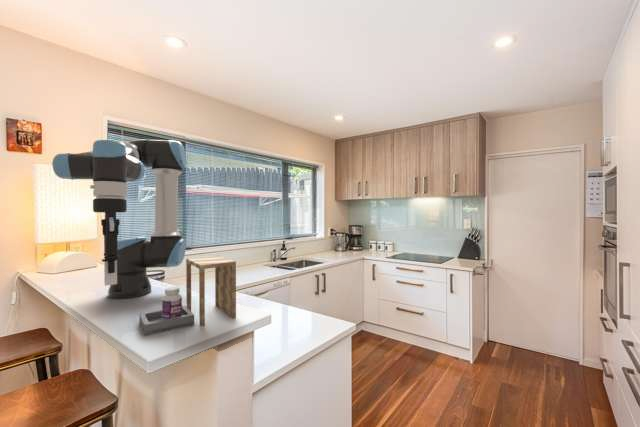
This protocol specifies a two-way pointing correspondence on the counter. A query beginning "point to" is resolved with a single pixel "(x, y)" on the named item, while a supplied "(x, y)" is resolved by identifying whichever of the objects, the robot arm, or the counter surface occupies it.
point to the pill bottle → (171, 303)
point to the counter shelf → (223, 284)
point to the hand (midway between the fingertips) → (110, 283)
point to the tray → (164, 321)
